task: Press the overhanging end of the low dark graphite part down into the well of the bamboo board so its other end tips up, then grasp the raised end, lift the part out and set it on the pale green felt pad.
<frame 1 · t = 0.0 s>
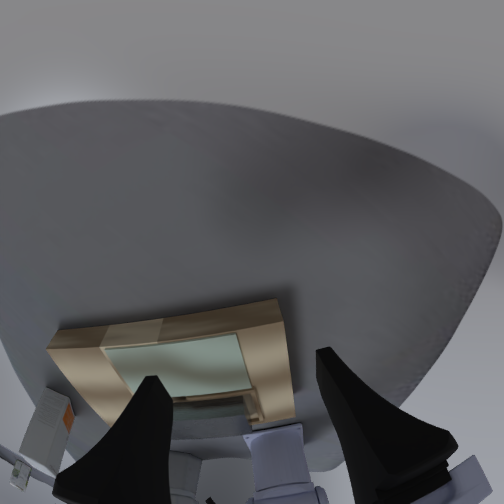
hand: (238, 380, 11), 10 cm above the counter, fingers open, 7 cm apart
syrup box: (24, 463, 49), on the counter
bamboo board: (174, 373, 24), on the counter
coffee maker: (184, 459, 34), on the counter
skincare box: (61, 401, 27), on the counter
graphite part: (201, 411, 23), point 3 cm above the counter, touching bamboo board
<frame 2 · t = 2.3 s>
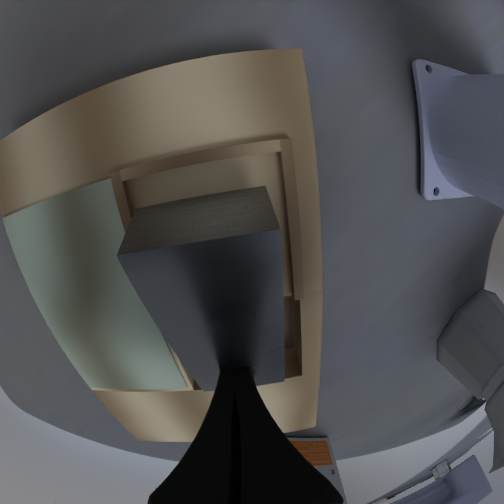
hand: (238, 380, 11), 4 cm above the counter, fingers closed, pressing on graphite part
syrup box: (438, 464, 58), on the counter
bamboo board: (178, 303, 14), on the counter
coffee maker: (472, 316, 18), on the counter
skincare box: (296, 442, 24), on the counter
graphite part: (223, 296, 11), point 3 cm above the counter, tilted 16°, touching bamboo board, gripper
bottle: (378, 500, 73), on the counter
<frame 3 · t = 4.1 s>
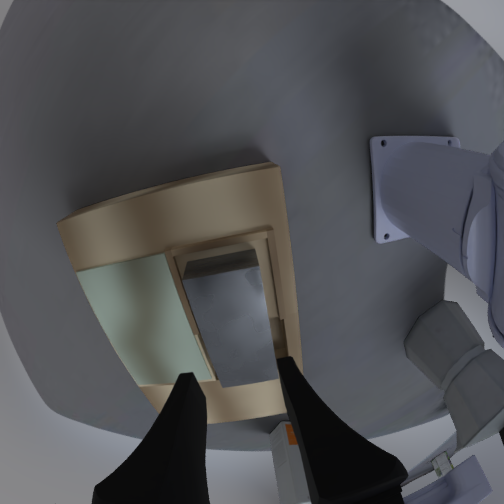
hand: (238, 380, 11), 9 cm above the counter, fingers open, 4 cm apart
syrup box: (437, 456, 63), on the counter
bamboo board: (203, 321, 21), on the counter
coffee maker: (436, 321, 25), on the counter
skincare box: (294, 427, 30), on the counter
graphite part: (235, 316, 17), point 3 cm above the counter, touching bamboo board
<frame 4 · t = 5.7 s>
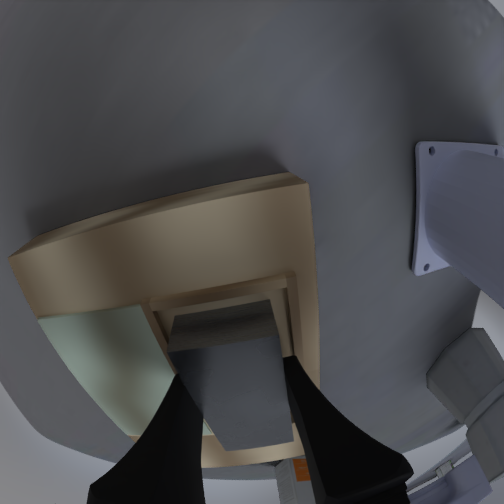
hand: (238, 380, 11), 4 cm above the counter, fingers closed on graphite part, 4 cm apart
syrup box: (442, 464, 58), on the counter
bamboo board: (200, 369, 16), on the counter
coffee maker: (461, 349, 20), on the counter
skincare box: (301, 459, 25), on the counter
graphite part: (242, 377, 13), point 3 cm above the counter, touching bamboo board, gripper
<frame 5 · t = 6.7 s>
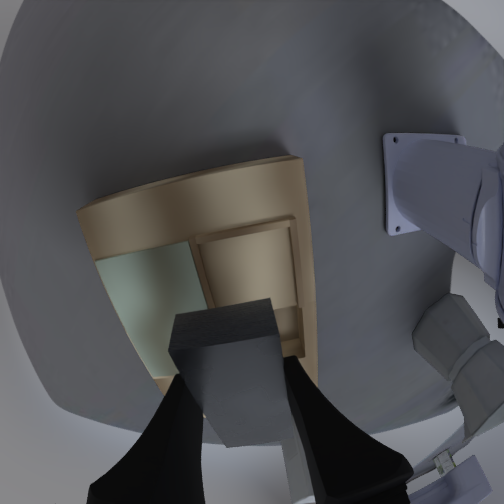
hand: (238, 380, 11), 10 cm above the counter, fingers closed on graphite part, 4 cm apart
syrup box: (439, 454, 63), on the counter
bamboo board: (220, 311, 22), on the counter
coffee maker: (443, 314, 25), on the counter
skincare box: (303, 420, 30), on the counter
graphite part: (242, 374, 13), point 9 cm above the counter, touching gripper
when the fingers open (8 cm above the counter, at t = 7.8 s): graphite part drops 3 cm, resting on bamboo board.
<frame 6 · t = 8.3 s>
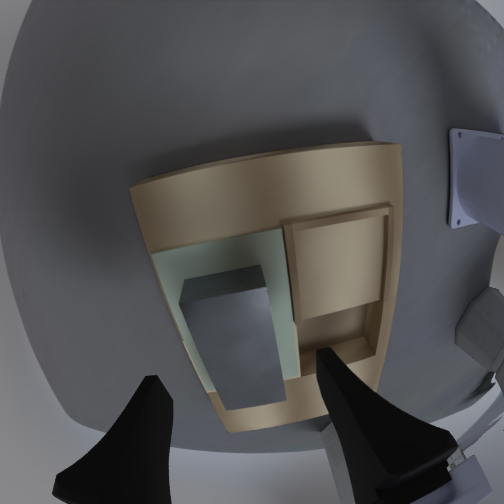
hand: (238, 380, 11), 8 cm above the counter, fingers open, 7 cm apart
syrup box: (452, 451, 61), on the counter
bamboo board: (288, 311, 19), on the counter
coffee maker: (481, 308, 23), on the counter
skincare box: (345, 422, 28), on the counter
graphite part: (239, 337, 16), point 3 cm above the counter, touching bamboo board
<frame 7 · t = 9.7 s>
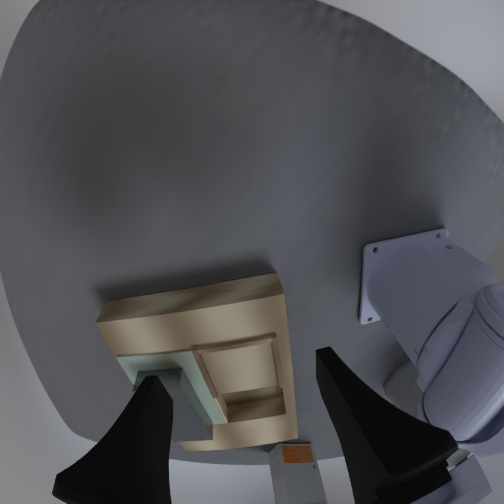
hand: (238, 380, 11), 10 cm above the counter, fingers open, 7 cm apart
bamboo board: (218, 379, 25), on the counter
coffee maker: (413, 368, 29), on the counter
skincare box: (289, 447, 34), on the counter
graphite part: (178, 400, 21), point 3 cm above the counter, touching bamboo board
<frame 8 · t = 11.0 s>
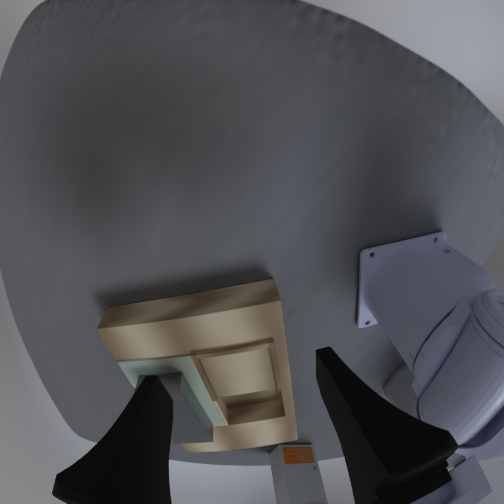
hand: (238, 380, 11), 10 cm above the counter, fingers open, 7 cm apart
bamboo board: (218, 382, 25), on the counter
coffee maker: (413, 369, 29), on the counter
skincare box: (290, 447, 34), on the counter
graphite part: (179, 403, 22), point 3 cm above the counter, touching bamboo board
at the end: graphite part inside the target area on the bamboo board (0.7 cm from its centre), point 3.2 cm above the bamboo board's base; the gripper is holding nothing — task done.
